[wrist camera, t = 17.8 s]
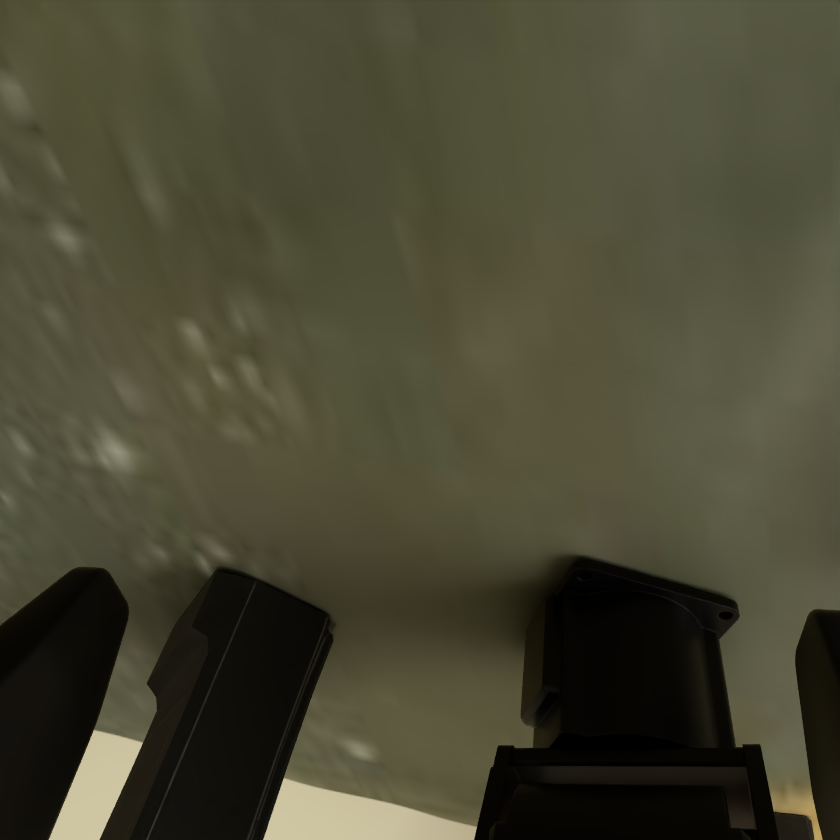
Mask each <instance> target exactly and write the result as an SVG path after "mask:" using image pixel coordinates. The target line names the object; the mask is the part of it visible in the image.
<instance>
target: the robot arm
mask: <svg viewBox="0 0 840 840" xmlns="http://www.w3.org/2000/svg"><path fill="white" fill-rule="evenodd" d="M128 615H129V607H128V603H127V601H126V599H125V597H124V596H123V594H122V593H121V591H120V589H119V588H118V586H117V584H116V583H115V581H114V579H113V578H112V576H111V574H110V573H109V572H108V571H107V570H105V569H104V568H96V567H78V568H75V569H73V570H71V571H70V572H68V573H67V574H65V575H64V576H63V577H62V578H60V579H59V580H58V581H57V582H55V583H54V584H53V585H51V586H50V587H49V588H48V589H46V590H45V591H44V592H42V593H41V594H40V595H39V596H37V597H36V598H35V599H33V600H32V601H31V602H30V603H28V604H27V605H26V606H24V607H23V608H22V609H21V610H19V611H18V612H17V613H15V614H14V615H13V616H12V617H10V618H9V619H8V620H6V621H5V622H4V623H3V624H1V625H0V840H49V838H50V835H51V833H52V830H53V828H54V825H55V823H56V821H57V818H58V816H59V813H60V811H61V808H62V806H63V803H64V801H65V799H66V796H67V794H68V792H69V789H70V787H71V784H72V782H73V780H74V777H75V775H76V772H77V770H78V767H79V765H80V763H81V760H82V758H83V755H84V753H85V750H86V748H87V746H88V743H89V741H90V738H91V736H92V733H93V730H94V728H95V725H96V723H97V720H98V717H99V714H100V711H101V708H102V705H103V701H104V698H105V695H106V691H107V688H108V685H109V681H110V678H111V675H112V671H113V668H114V665H115V661H116V658H117V655H118V651H119V648H120V645H121V641H122V638H123V635H124V631H125V628H126V625H127V621H128ZM738 618H739V610H738V605H737V603H736V602H735V601H733V600H730V599H727V598H723V597H720V596H716V595H713V594H709V593H705V592H702V591H698V590H695V589H691V588H688V587H684V586H680V585H677V584H673V583H670V582H666V581H663V580H659V579H655V578H652V577H648V576H645V575H641V574H638V573H634V572H630V571H627V570H623V569H620V568H616V567H612V566H609V565H605V564H602V563H598V562H595V561H591V560H585V559H583V560H578V561H576V562H574V563H573V564H572V566H571V567H570V569H569V570H568V572H567V574H566V575H565V577H564V579H563V580H562V582H561V584H560V585H559V587H558V589H557V590H556V592H555V593H554V595H552V594H551V595H550V596H548V597H546V598H545V599H544V601H543V603H542V604H541V606H540V608H539V609H538V611H537V613H536V615H535V616H534V618H533V620H532V621H531V623H530V625H529V626H528V628H527V630H526V640H525V656H524V671H523V687H522V702H521V719H522V721H523V723H524V724H525V725H526V726H530V727H534V738H533V748H515V747H514V746H513V745H499V746H498V748H497V752H496V756H495V761H494V765H493V767H491V769H490V773H489V777H488V782H487V786H486V790H485V795H484V799H483V804H482V808H481V812H480V817H479V821H478V825H477V830H476V834H475V839H474V840H779V836H778V831H777V826H776V821H775V816H774V811H773V806H772V801H771V796H770V791H769V786H768V781H767V776H766V771H765V766H764V761H763V756H762V751H761V746H760V744H743V747H736V744H735V738H734V731H733V725H732V719H731V713H730V706H729V700H728V694H727V687H726V681H725V675H724V668H723V662H722V656H721V650H720V643H719V639H720V638H721V637H722V636H723V635H724V634H725V633H726V631H727V630H728V629H729V628H730V627H731V626H732V625H733V624H734V623H735V622H736V621H737V620H738ZM795 665H796V675H797V682H798V690H799V697H800V705H801V713H802V720H803V728H804V735H805V743H806V751H807V758H808V766H809V773H810V780H811V787H812V794H813V800H814V804H815V809H816V813H817V818H818V822H819V826H820V830H821V834H822V838H823V840H840V611H839V610H822V609H815V610H813V611H811V612H810V613H809V615H808V617H807V620H806V623H805V626H804V628H803V631H802V634H801V637H800V640H799V643H798V646H797V649H796V656H795ZM737 828H755V829H737Z"/></svg>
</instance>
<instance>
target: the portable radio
mask: <svg viewBox="0 0 840 840" xmlns="http://www.w3.org/2000/svg"><path fill="white" fill-rule="evenodd" d="M329 622H330V619H329V618H328V616H327V615H325V614H323V613H321V612H319V611H317V610H315V609H313V608H311V607H309V606H307V605H305V604H303V603H301V602H299V601H297V600H295V599H293V598H291V597H289V596H287V595H285V594H283V593H281V592H278V591H276V590H274V589H272V588H270V587H268V586H266V585H264V584H262V583H260V582H257V581H254V580H251V579H247V578H244V577H241V576H238V575H233V574H228V573H223V572H218V571H215V572H214V574H213V575H212V576H211V578H210V579H209V580H208V582H207V583H206V584H205V586H204V587H203V588H202V590H201V591H200V592H199V594H198V595H197V596H196V598H195V599H194V600H193V602H192V603H191V604H190V606H189V607H188V608H187V610H186V611H185V612H184V614H183V615H182V616H181V618H180V619H179V620H178V622H177V623H176V625H175V626H174V628H173V630H172V632H171V634H170V636H169V638H168V640H167V642H166V644H165V646H164V648H163V650H162V652H161V655H160V657H159V659H158V661H157V663H156V665H155V667H154V669H153V671H152V673H151V675H150V678H149V680H148V682H147V685H148V686H149V687H150V689H151V690H152V692H153V693H154V694H155V696H156V701H157V712H156V714H155V717H154V719H153V721H152V724H151V726H150V728H149V731H148V733H147V735H146V737H145V740H144V742H143V744H142V747H141V749H140V751H139V754H138V756H137V758H136V760H135V763H134V765H133V767H132V770H131V772H130V774H129V776H128V778H127V780H126V783H125V785H124V787H123V789H122V791H121V794H120V796H119V798H118V800H117V802H116V805H115V807H114V809H113V811H112V814H111V816H110V818H109V820H108V822H107V825H106V827H105V829H104V831H103V833H102V836H101V838H100V840H263V838H264V835H265V832H266V830H267V826H268V823H269V820H270V817H271V814H272V811H273V808H274V805H275V802H276V799H277V796H278V793H279V790H280V787H281V784H282V781H283V778H284V775H285V772H286V769H287V766H288V763H289V760H290V757H291V754H292V751H293V749H294V746H295V743H296V740H297V737H298V734H299V731H300V729H301V726H302V723H303V720H304V717H305V714H306V711H307V709H308V706H309V703H310V700H311V697H312V694H313V692H314V689H315V686H316V684H317V681H318V679H319V676H320V674H321V671H322V669H323V666H324V663H325V661H326V658H327V656H328V653H329V651H330V648H331V645H332V643H333V635H332V634H331V633H330V632H329V630H328V629H327V627H328V625H329Z"/></svg>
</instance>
